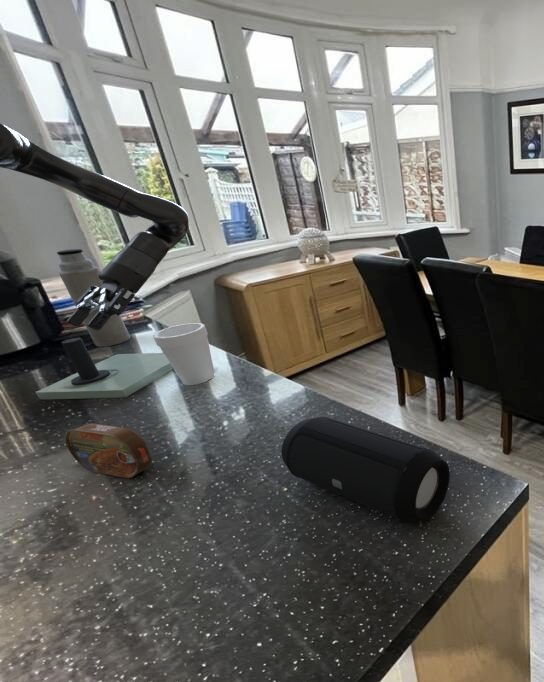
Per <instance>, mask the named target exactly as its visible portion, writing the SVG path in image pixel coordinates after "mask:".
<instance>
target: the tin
mask: <svg viewBox="0 0 544 682" xmlns="http://www.w3.org/2000/svg"><path fill="white" fill-rule="evenodd" d="M65 444H66V447H67V450H68V451H69V453H70V455H71V456H72V458H74V460H75V461H76V462H77V463H78V464H79V465H81V467H83V468H84V469H86V470H88V471H90V472H92V473H95V474H101V475H107V476H113V477H117V478H122V479H132V478H134V477H136V476H137V475H138V474H140V473H141V472H144V471H145V470H147V469H148V468H149V467H150V466H151V465H152V461H153V459H152V456H151V453H150V451H149V448H148V446H147V443H146V441H145V440H144V439H143V438H142V436H140V435H139V434H138V433H137V432H136V431H134V430H132V429H130V428H128V427H123V426H114V425H107V424H99V423H93V422H92V423H86V424H83V425H81V426H79V427H77V428H74V429H70V430H69V431H67V433H66V434H65Z"/></svg>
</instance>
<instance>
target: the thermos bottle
mask: <svg viewBox="0 0 544 682" xmlns="http://www.w3.org/2000/svg"><path fill="white" fill-rule="evenodd" d="M83 252H84V250H83V249H81V248H73V249H64V250H59V251H56V253H57V255H58V256H59V259H60V262H59V263H58V267H59V269H60V271H59V272H58V275H59V277H60V278H61V281H62V282H63V284H64V286H65V288H66V290H67V293H68V295H69V296H70V298H71V300H72V303H73V304H74V303H75V302H76V301H77V300H78V299H79V298H80V297H81V296H82V295H83V294H84V293H85V292H86V290H87V289H88V288H89V287H90V286H91V285H94V286H96V287H99V286H101V285H102V284H103V281H102V280H100V279H99V277H98V275H99V273H100V272H101V270H100V268H99V267H98V266H95V265H94V262H93V261H92V259H89V258H86V256H85V254H84V253H83ZM76 307H77V306H75V308H76ZM76 309H78V308H76ZM99 310H100V309H95V310H94V311H93V312H91V313H89V315H88V317H87V318H86V319H85V320H84V321H83V322H82V323H83V324H84V326H85V328H86V330H87V332H88V334H89V336H90V337H91V339H92V342H93V344H94V346H95V347H98V348H101V347H102V348H103V347H110V346H117V345H119V344H122V343H124V342H127V341H129V340H130V339H131V336H130V333H129V331H128V329H127V327H126V325H125V322H124V320H123V318H122V315H121V314H120V315H116V314H115V316H113V317H110V318H109V319H108V321H107V322H106V323H105V324H104V326H103V327H102V328H101V329H100V330H95V329H92V328H90V327H88V326H87V324H88V323H89V322H90V320H91V319H92V318H93V317H94V316H95V315H96V313H97V312H100V311H99ZM100 313H101V312H100Z"/></svg>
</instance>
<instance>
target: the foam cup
mask: <svg viewBox="0 0 544 682" xmlns="http://www.w3.org/2000/svg"><path fill="white" fill-rule="evenodd" d="M152 337H153V339H154V341H155V345H157V347H158V348H159V349H160V350H161V351H162V352H161V353H164V355H165V356H166V358H167V359H168V361H169V362H170V364H171V365H172V367H173V371H175V373H176V375H177V376H178V378H179V380H180V381H181V383H182V384H183V385H184V386H196V385H197V386H198V385H200V384H204V383H206V382H208V380H209V379H211V378H212V377H213V378H215V376H214V374H215V368H214V363H213V359H212V354H211V348H210V343H209V337H208V330H207V328H206V325H205V324H204V323H202V322H188V323H181V324H177V325H176V324H175V325H172V326H169V327H166V328H163V329H160V330H158V331H156V332H155V333H154V334H153V335H152ZM213 378H212V379H213ZM212 379H211V380H212ZM209 381H210V380H209Z"/></svg>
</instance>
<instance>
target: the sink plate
mask: <svg viewBox="0 0 544 682" xmlns="http://www.w3.org/2000/svg"><path fill="white" fill-rule="evenodd" d="M94 364H95V366H96V368H97V370H108V371H109V372H110V375H109V376H108V377H106V378H104V379H102V380H99V381H96V382H93V383H89V384H85V385H73V384H72V383H71V380H72V379H74V378H75V377H77V376H79V374H78V372H76V373H74V374H71V375H69V376H66V377H65V378H63V379H61V380H59V381H57V382H54V383H52V384H49V385H48V386H45V387H43V388H42V389H40V390H37V391H35V394H36V396H37V397H38V399H39V400H40V401H42V400H78V399H84V400H85V399H118V398H121V399H122V398H128V397H129V396H131V395H132V394H134V393H136V392H137V391H139V390H141V389H143V388H144V387H147V386H148V385H150V384H151V383H153V382H154V381H156V380H158V379H159V378H161V377H163V376H165V375H166V374H168V373H170V372H171V371H174V369H173V367H172V365H171V364H170V362H169V361H168V359H167V358H166V356H165V355H164V353H163V352H152V353H151V352H148V353H147V352H146V353H145V352H144V353H142V352H140V353H116V354H114V355H112V356H110V357H108V358H106V359H104V360H101V361H99V362H97V363H94Z"/></svg>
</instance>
